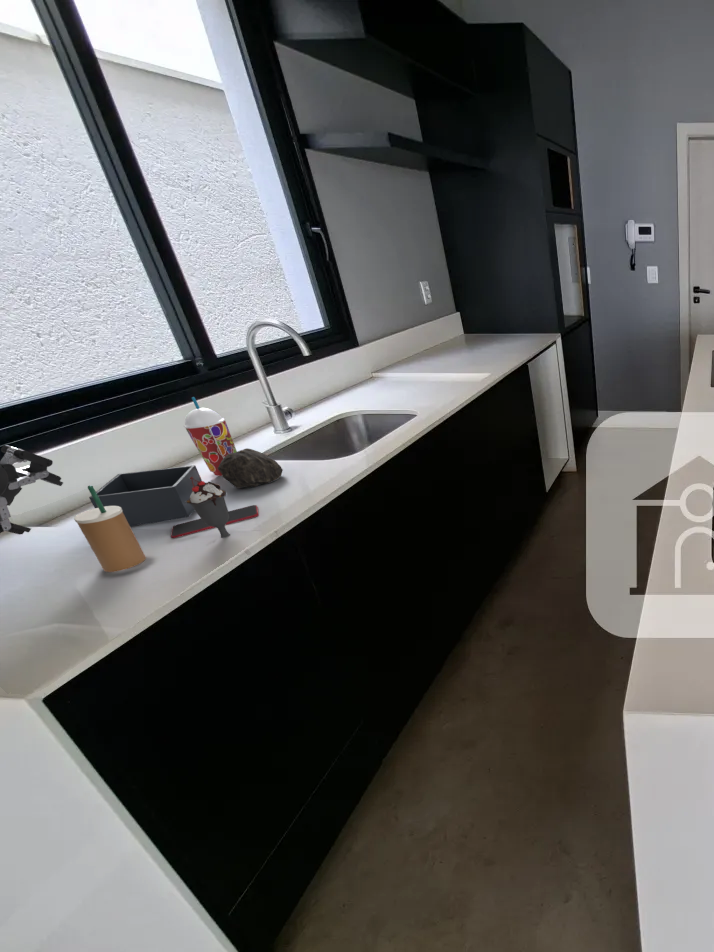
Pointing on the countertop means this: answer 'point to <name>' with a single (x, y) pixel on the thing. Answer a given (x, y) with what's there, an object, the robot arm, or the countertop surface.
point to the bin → (151, 494)
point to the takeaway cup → (110, 536)
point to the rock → (249, 468)
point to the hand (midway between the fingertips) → (40, 505)
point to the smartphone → (201, 526)
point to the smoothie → (209, 436)
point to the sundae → (210, 505)
